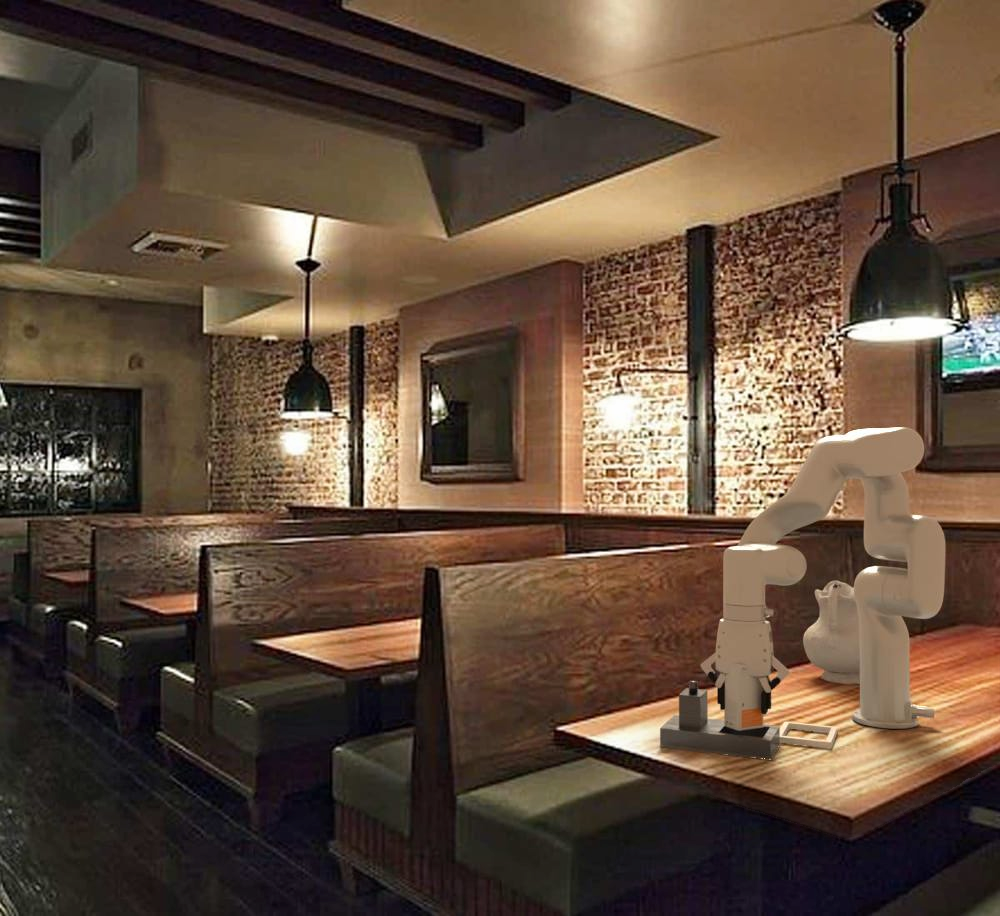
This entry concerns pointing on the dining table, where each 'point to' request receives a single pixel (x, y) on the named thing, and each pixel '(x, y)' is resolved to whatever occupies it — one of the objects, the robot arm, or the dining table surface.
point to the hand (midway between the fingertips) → (744, 709)
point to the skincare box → (742, 699)
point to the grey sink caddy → (714, 731)
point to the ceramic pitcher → (835, 635)
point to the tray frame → (806, 741)
